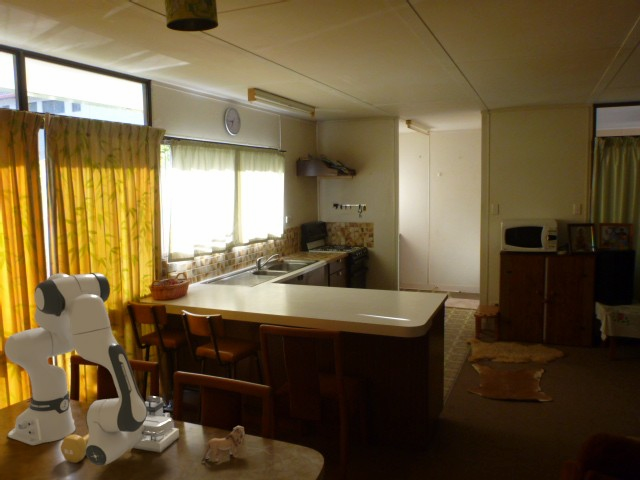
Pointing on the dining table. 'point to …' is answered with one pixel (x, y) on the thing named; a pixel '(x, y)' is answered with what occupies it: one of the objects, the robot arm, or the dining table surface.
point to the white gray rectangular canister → (154, 412)
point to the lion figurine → (225, 443)
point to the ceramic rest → (160, 445)
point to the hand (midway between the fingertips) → (156, 413)
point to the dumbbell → (74, 447)
